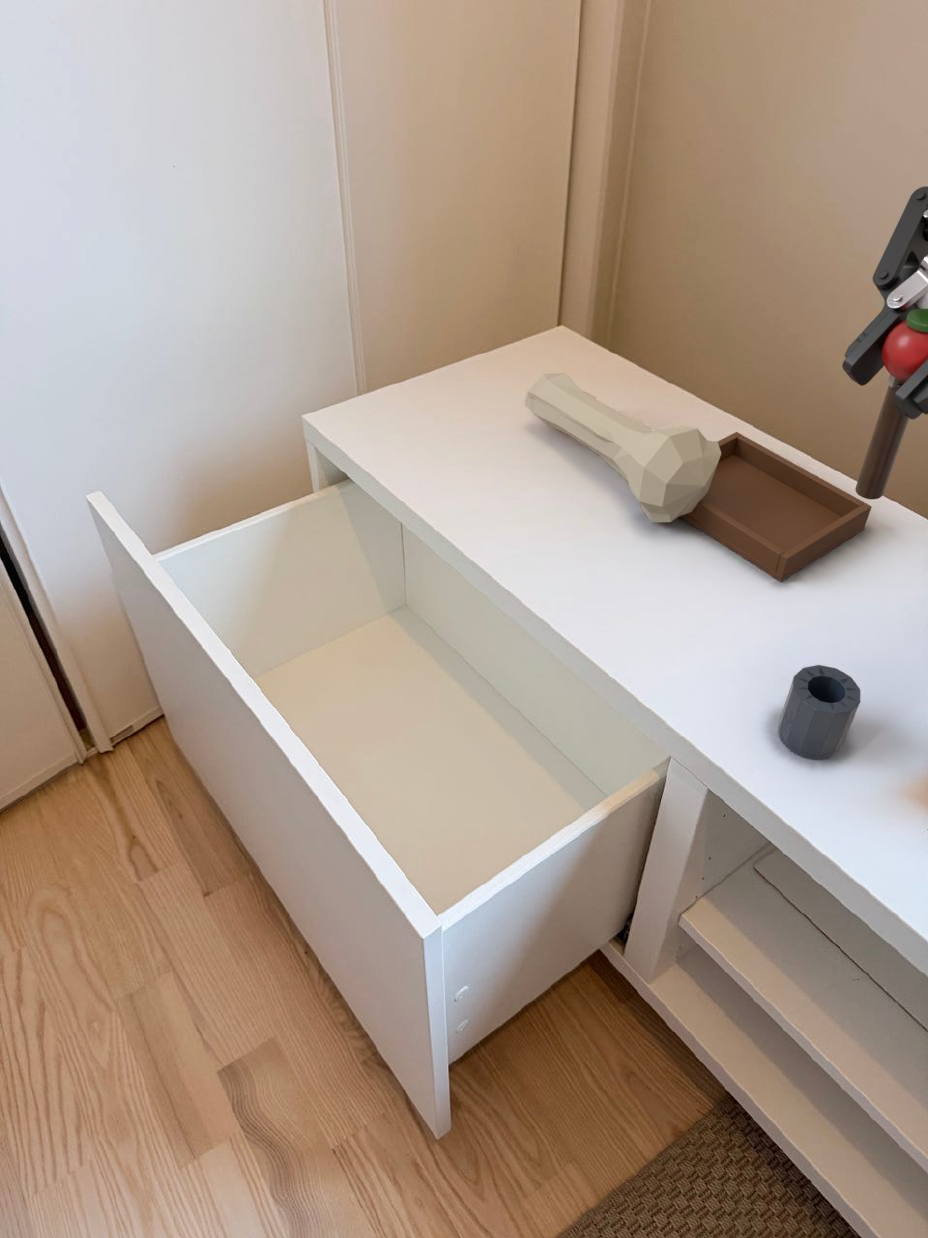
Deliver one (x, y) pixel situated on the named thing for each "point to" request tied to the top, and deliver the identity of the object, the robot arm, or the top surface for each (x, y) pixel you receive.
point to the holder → (818, 712)
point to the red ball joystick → (901, 357)
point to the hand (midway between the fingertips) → (877, 391)
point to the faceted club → (631, 447)
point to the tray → (774, 509)
